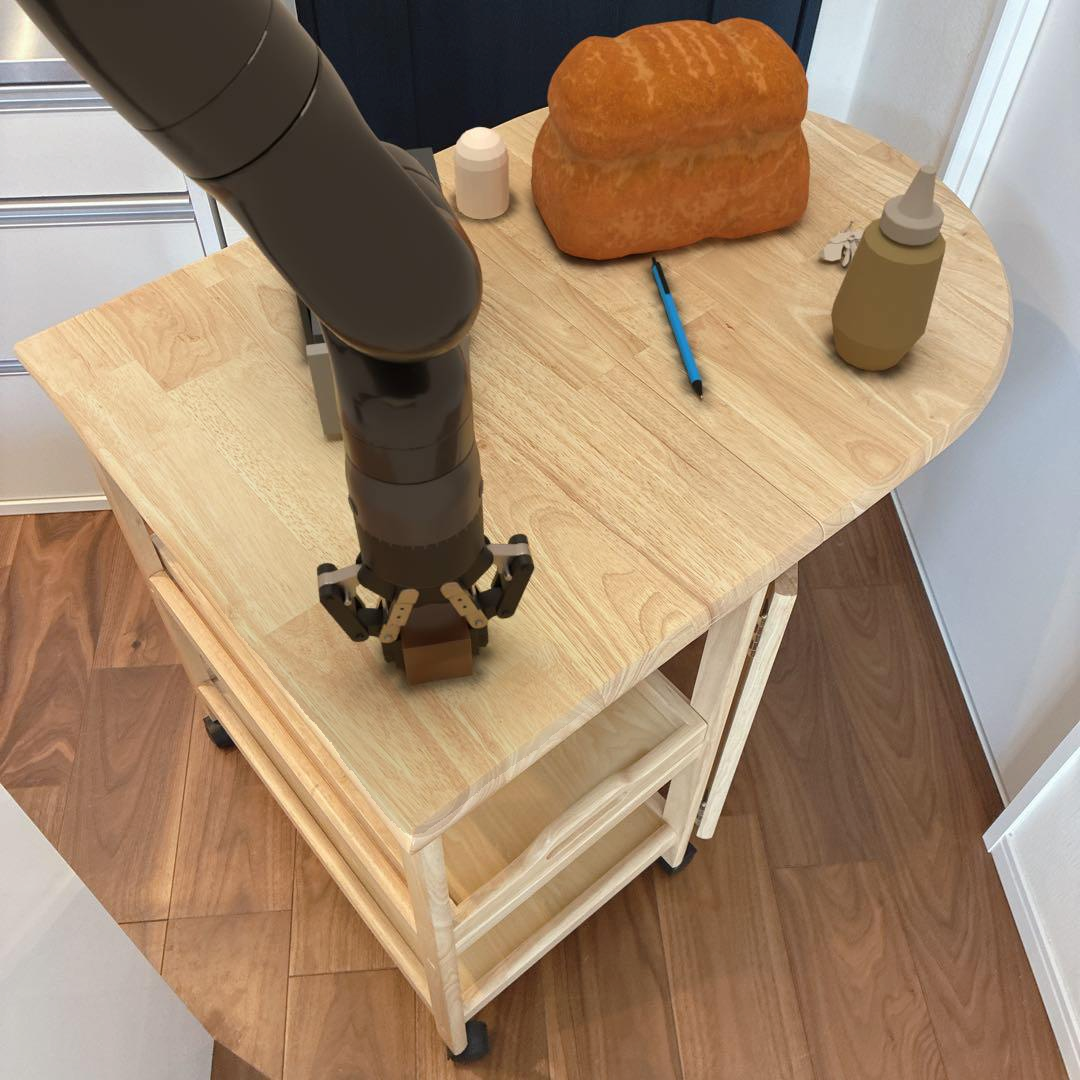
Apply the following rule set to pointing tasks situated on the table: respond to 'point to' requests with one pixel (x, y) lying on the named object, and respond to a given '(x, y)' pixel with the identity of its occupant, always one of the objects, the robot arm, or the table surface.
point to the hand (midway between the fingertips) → (435, 650)
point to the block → (436, 644)
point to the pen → (677, 327)
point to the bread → (672, 139)
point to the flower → (836, 245)
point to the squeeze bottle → (891, 279)
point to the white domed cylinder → (481, 174)
